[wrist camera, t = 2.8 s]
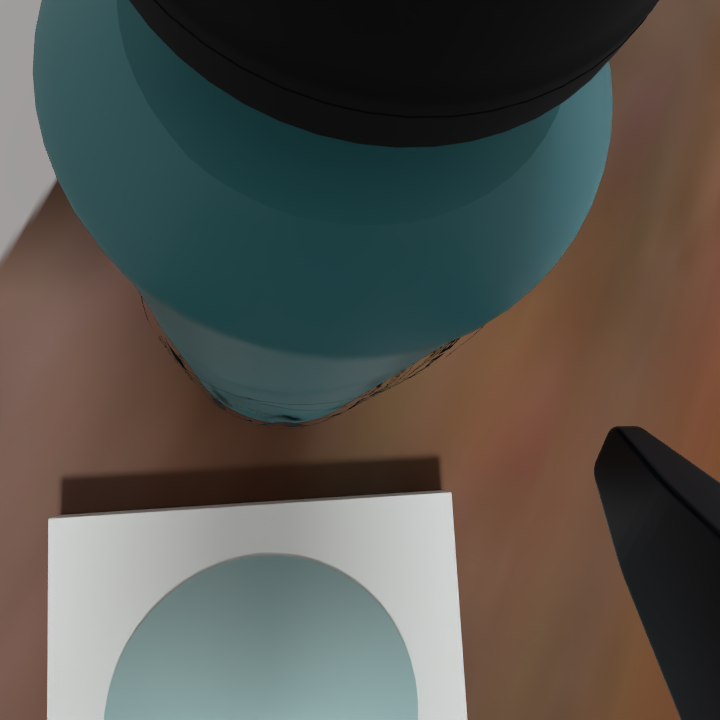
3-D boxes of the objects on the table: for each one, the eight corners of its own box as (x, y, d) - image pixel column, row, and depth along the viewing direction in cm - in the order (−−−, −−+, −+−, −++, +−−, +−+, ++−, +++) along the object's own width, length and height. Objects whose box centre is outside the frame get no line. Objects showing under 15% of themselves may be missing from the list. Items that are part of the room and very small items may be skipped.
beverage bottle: (149, 381, 21) (-1099, -404, 2) (238, 203, 23) (90, -1432, 3) (335, 463, 22) (974, 567, 2) (412, 285, 23) (1267, -657, 3)
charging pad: (468, 883, 21) (481, 911, 19) (58, 948, 19) (44, 983, 18) (441, 490, 22) (452, 492, 21) (60, 514, 20) (47, 518, 19)
